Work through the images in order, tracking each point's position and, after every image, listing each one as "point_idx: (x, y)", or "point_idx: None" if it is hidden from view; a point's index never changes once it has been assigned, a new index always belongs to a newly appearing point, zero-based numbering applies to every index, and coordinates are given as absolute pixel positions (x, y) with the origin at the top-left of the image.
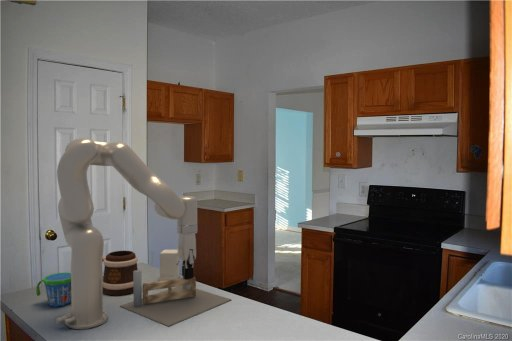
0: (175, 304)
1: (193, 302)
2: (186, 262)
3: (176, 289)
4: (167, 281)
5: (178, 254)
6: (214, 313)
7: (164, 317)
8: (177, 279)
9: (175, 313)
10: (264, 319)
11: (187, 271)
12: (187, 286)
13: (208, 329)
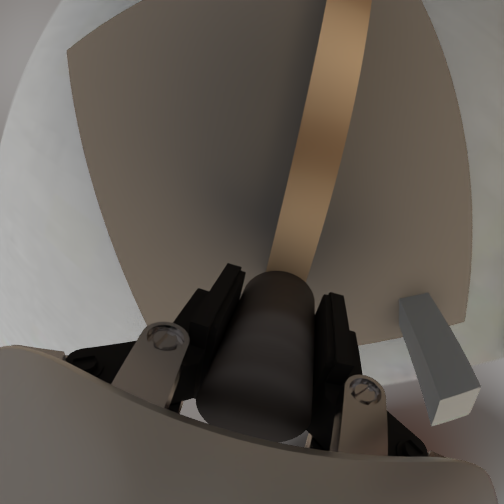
0: (240, 136)
1: (210, 230)
2: (112, 384)
3: (446, 264)
4: (313, 101)
5: (437, 497)
6: (83, 239)
7: (126, 43)
8: (309, 215)
9: (134, 94)
10: (33, 311)
11: (180, 315)
12: (403, 314)
13: (16, 163)
